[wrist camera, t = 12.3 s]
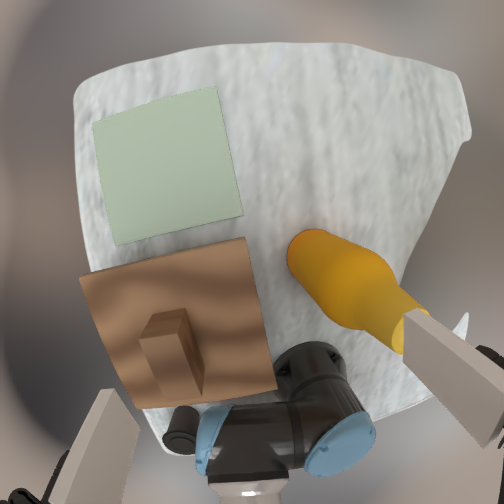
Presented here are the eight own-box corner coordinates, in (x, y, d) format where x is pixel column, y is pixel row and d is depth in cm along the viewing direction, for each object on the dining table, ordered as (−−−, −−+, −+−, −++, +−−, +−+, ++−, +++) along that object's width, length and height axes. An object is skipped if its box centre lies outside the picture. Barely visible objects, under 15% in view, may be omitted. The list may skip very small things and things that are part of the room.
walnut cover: (276, 382, 35) (286, 419, 28) (139, 402, 34) (127, 438, 27) (244, 236, 31) (250, 250, 23) (84, 274, 30) (52, 294, 22)
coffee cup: (173, 425, 53) (167, 457, 43) (164, 401, 51) (156, 433, 41) (207, 425, 53) (206, 457, 44) (201, 400, 52) (198, 434, 42)
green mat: (243, 214, 45) (243, 215, 44) (117, 245, 44) (115, 246, 43) (216, 87, 40) (215, 85, 39) (94, 124, 39) (92, 123, 38)
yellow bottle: (331, 222, 47) (453, 262, 18) (340, 273, 49) (446, 354, 20) (280, 235, 46) (359, 298, 18) (291, 287, 48) (364, 395, 20)
